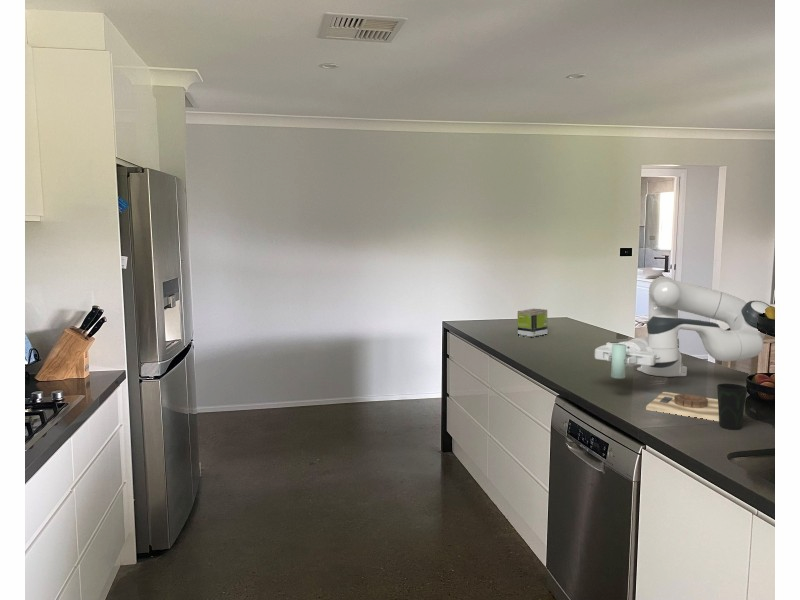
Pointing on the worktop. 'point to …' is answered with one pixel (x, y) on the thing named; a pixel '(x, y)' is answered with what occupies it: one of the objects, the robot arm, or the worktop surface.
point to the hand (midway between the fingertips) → (617, 359)
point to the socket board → (686, 405)
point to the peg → (618, 361)
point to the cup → (731, 405)
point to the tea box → (532, 322)
